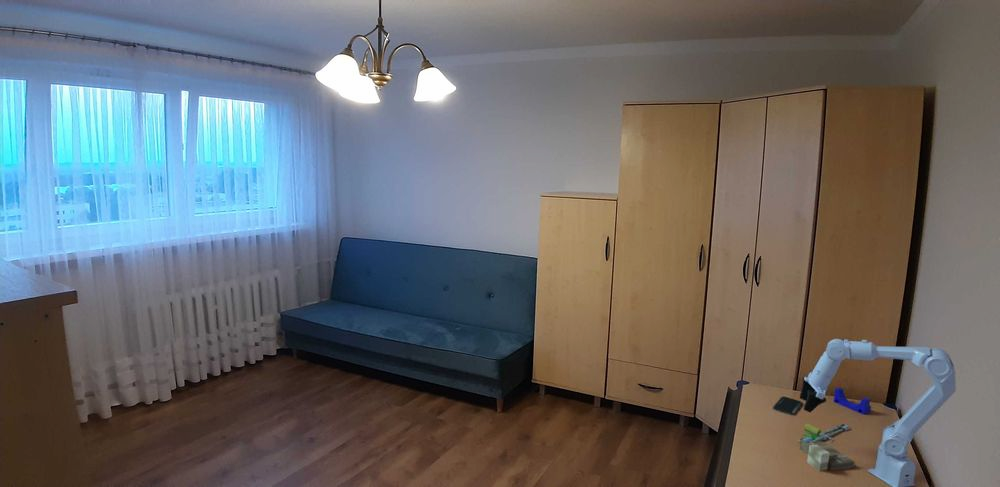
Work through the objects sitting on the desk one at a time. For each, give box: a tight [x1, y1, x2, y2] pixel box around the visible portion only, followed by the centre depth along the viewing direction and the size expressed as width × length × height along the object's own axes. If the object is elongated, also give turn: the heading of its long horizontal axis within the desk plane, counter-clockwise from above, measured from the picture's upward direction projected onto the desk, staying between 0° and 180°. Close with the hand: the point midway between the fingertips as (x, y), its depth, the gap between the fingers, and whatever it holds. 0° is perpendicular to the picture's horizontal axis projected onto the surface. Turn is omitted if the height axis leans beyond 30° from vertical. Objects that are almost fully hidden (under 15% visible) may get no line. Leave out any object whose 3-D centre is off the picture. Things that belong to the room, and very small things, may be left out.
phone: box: [772, 396, 804, 416], centre depth 214 cm, size 8×1×15 cm
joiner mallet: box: [806, 445, 838, 472], centre depth 172 cm, size 5×8×6 cm, turn 103°
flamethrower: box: [797, 423, 851, 444], centre depth 192 cm, size 29×3×10 cm
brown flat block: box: [799, 440, 856, 471], centre depth 176 cm, size 13×9×2 cm
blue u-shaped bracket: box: [833, 387, 872, 415], centre depth 215 cm, size 12×4×6 cm, turn 25°
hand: (804, 404), depth 179 cm, fingers open, 7 cm apart
